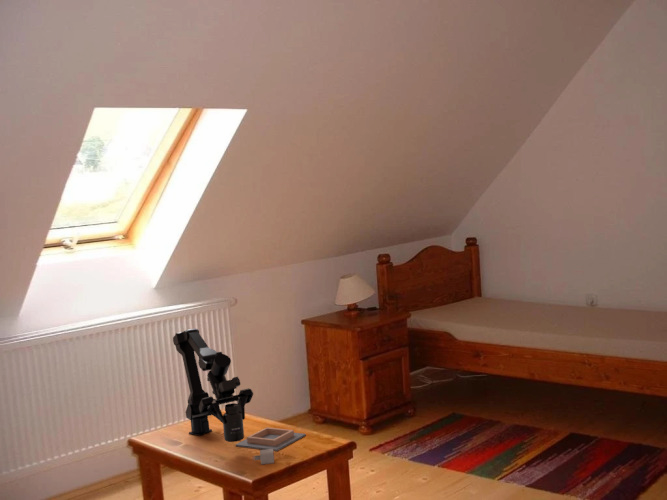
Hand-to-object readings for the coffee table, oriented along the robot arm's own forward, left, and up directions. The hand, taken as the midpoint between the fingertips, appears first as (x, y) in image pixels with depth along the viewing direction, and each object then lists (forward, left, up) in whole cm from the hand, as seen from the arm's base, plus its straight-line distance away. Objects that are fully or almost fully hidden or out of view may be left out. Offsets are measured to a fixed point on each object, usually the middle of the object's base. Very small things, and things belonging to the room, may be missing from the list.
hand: (234, 421), depth 272 cm
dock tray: (+1, +16, -12) cm, 20 cm away
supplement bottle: (-1, +1, -7) cm, 7 cm away
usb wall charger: (+14, -2, -12) cm, 19 cm away
